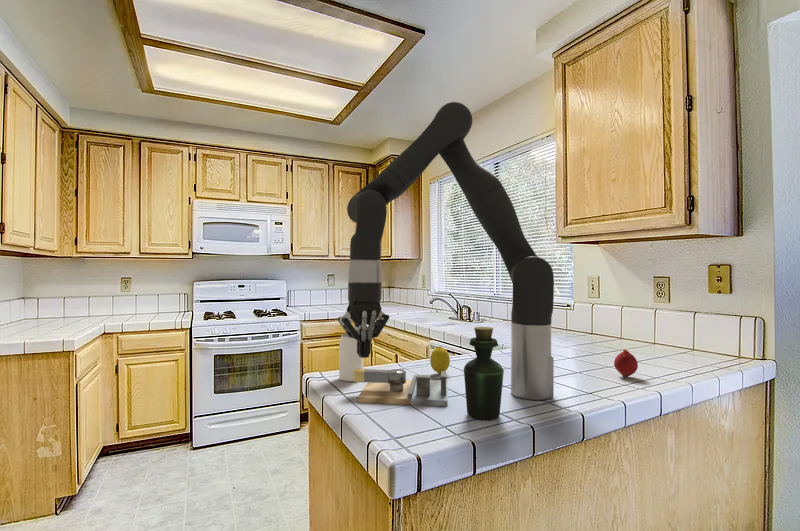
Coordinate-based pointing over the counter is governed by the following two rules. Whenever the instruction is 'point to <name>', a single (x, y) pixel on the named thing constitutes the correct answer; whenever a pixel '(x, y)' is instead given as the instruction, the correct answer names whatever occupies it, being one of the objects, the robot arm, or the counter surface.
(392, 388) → the board
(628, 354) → the onion
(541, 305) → the robot arm
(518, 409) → the counter surface
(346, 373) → the can
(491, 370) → the potion bottle
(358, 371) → the swing bar
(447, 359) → the lemon
